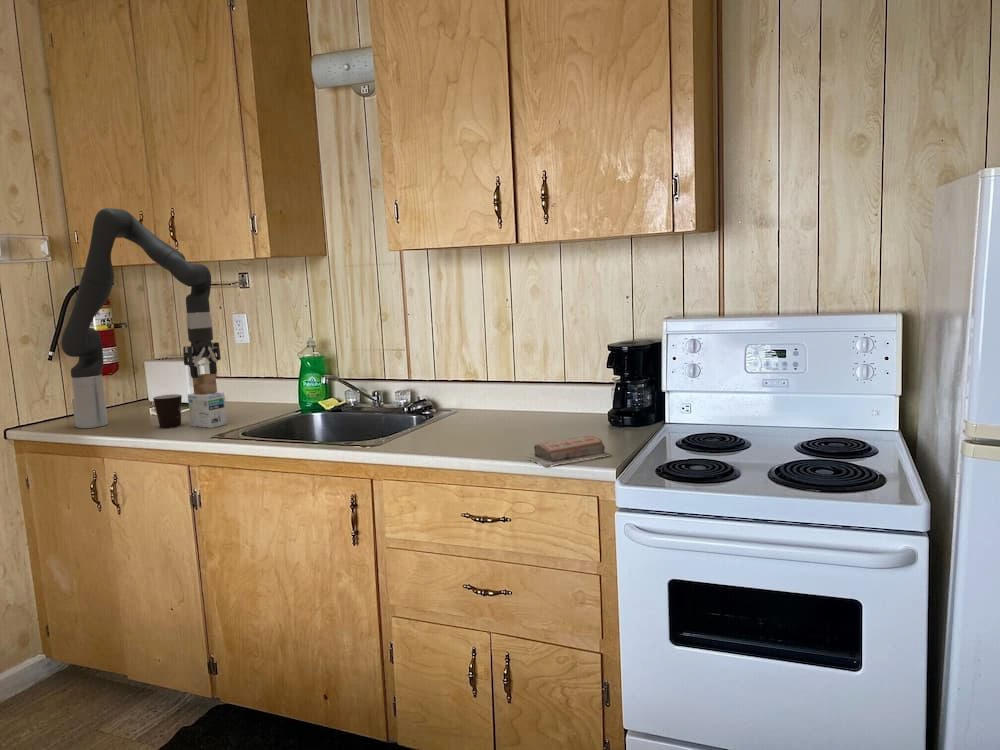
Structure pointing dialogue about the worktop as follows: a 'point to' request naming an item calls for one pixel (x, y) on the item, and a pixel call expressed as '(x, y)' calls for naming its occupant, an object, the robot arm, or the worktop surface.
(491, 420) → the worktop surface
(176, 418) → the coffee mug
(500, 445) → the worktop surface
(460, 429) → the worktop surface
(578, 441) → the packaged product
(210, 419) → the light bulb box
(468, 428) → the worktop surface
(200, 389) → the walnut block
